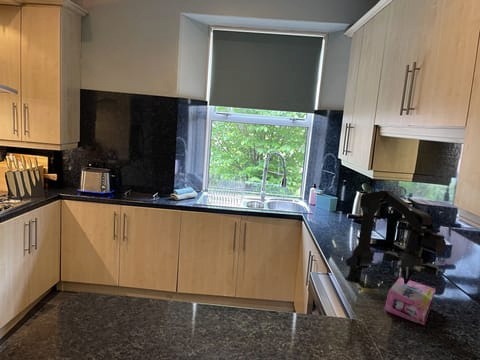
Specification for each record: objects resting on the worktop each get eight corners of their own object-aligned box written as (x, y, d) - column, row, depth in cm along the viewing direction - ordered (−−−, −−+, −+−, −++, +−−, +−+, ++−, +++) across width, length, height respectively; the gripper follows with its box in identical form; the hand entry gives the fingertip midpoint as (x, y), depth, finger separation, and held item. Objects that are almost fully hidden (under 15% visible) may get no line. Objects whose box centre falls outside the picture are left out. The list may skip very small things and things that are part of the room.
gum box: (382, 311, 132) (423, 327, 125) (387, 291, 131) (428, 306, 124) (395, 294, 152) (431, 307, 145) (400, 276, 151) (436, 288, 144)
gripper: (384, 240, 136) (375, 280, 138) (439, 256, 126) (429, 299, 128) (390, 236, 145) (382, 273, 147) (442, 251, 135) (433, 290, 137)
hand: (405, 284), depth 139 cm, fingers closed
